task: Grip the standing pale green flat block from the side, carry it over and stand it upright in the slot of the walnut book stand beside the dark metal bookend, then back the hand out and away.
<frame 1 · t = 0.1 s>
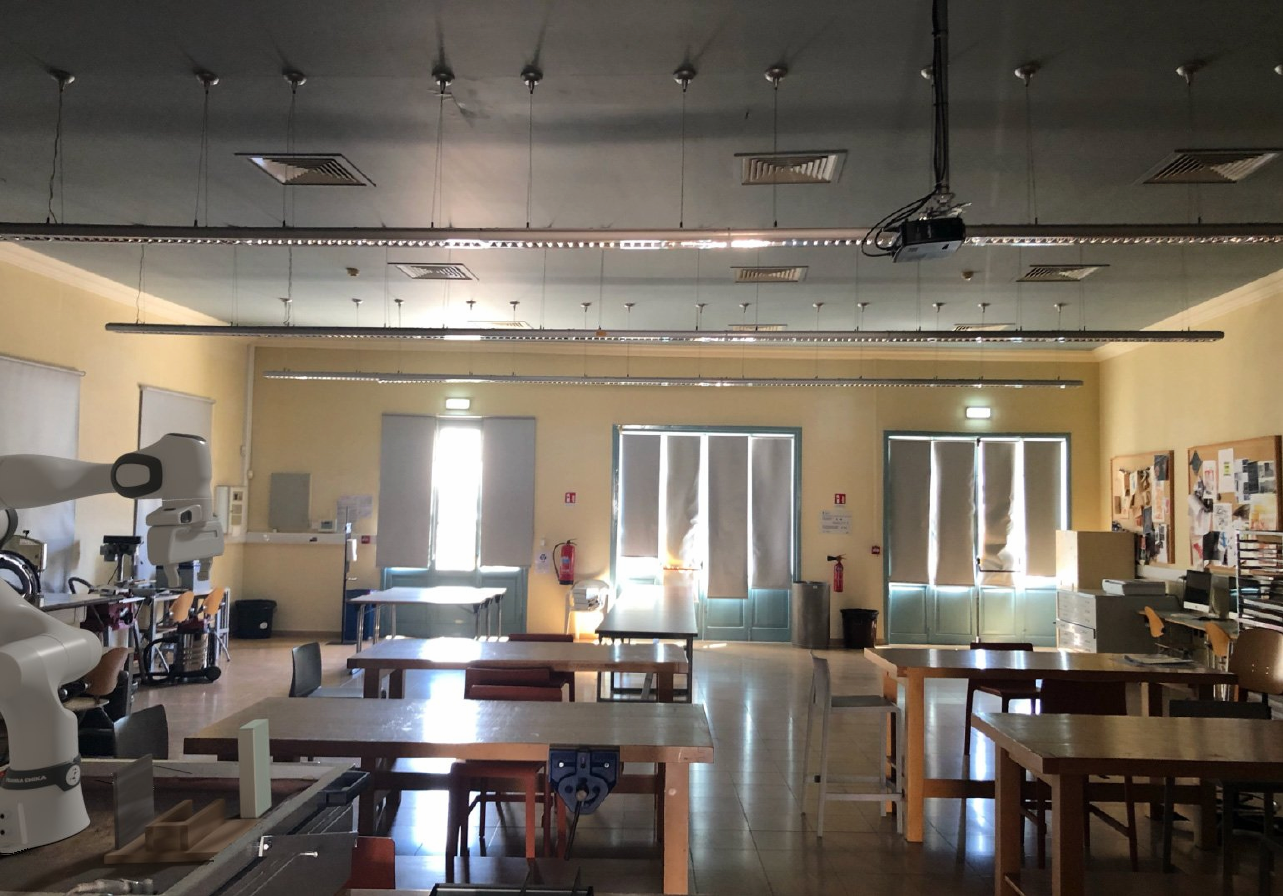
hand: (189, 583, 162), 48 cm above the table, tool pointing down, fingers open, 8 cm apart
book stand: (187, 844, 153), on the table
pale green flat block: (256, 812, 167), on the table
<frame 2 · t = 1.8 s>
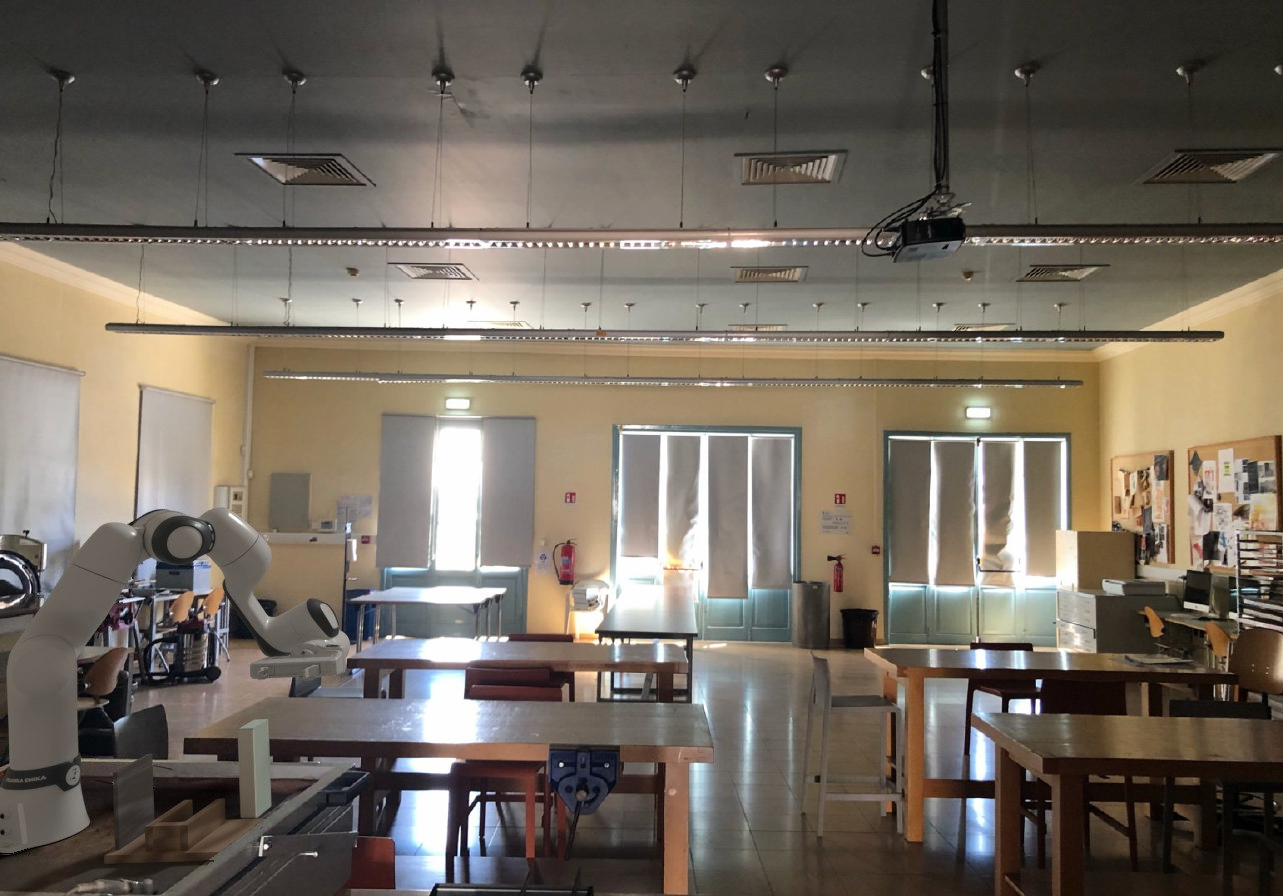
hand: (281, 675, 180), 25 cm above the table, tool horizontal, fingers open, 8 cm apart
nothing on the table moved.
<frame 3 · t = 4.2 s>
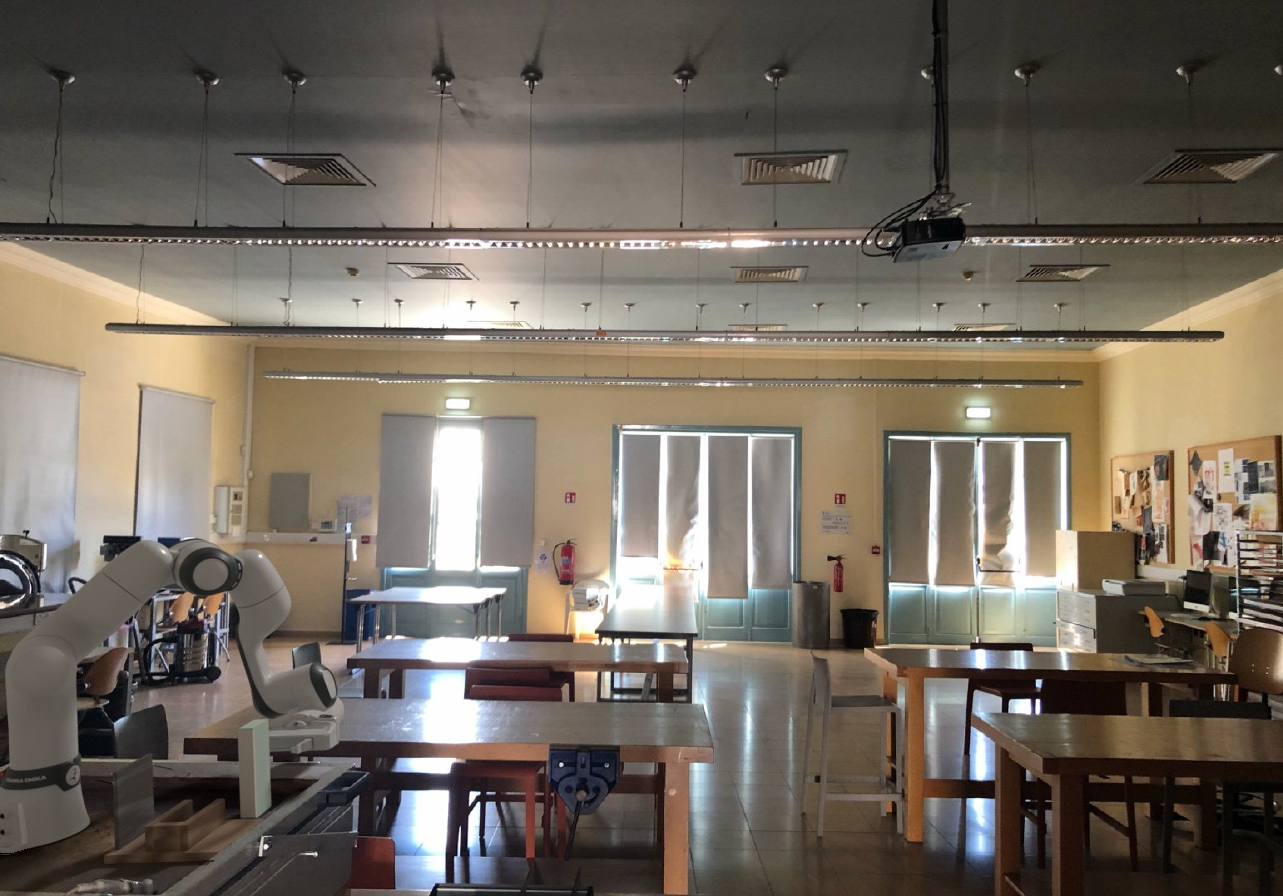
hand: (273, 750, 175), 10 cm above the table, tool horizontal, fingers open, 8 cm apart
nothing on the table moved.
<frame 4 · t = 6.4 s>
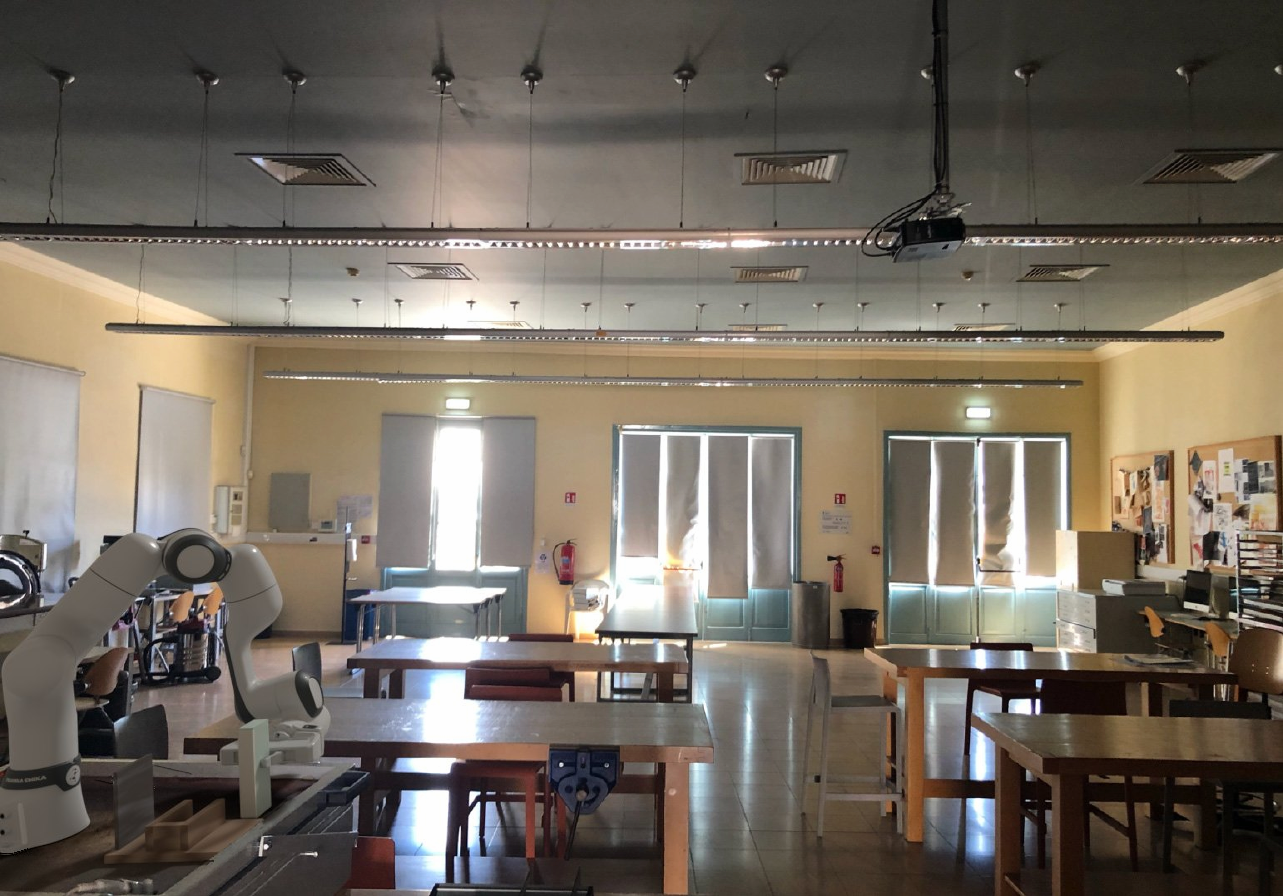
hand: (252, 764, 166), 10 cm above the table, tool horizontal, fingers closed on pale green flat block, 3 cm apart
pale green flat block: (256, 812, 167), on the table, touching gripper
everything else where it was.
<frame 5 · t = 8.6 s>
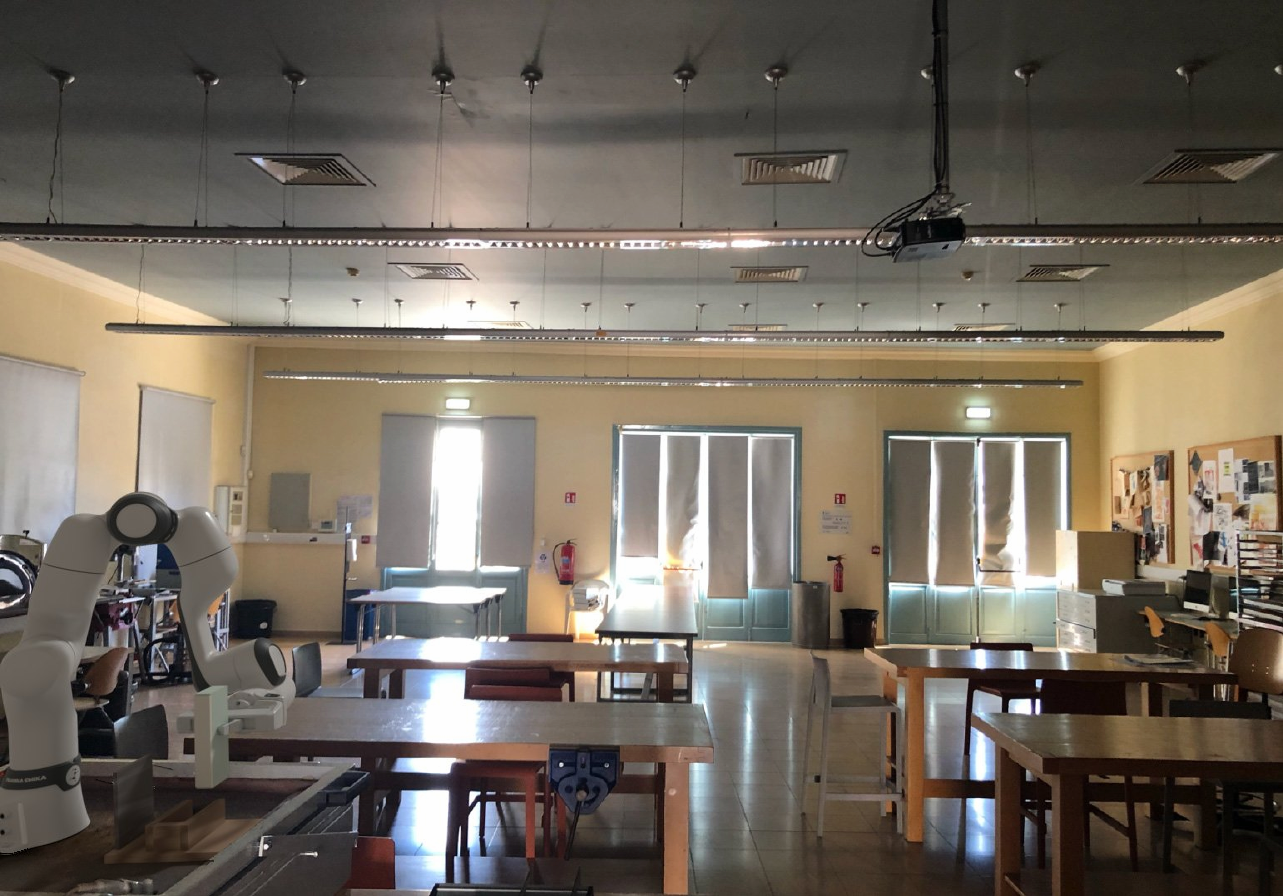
hand: (209, 731, 159), 19 cm above the table, tool horizontal, fingers closed on pale green flat block, 3 cm apart
pale green flat block: (213, 782, 159), point 9 cm above the table, touching gripper
everything else where it was.
when the fingers open (13 cm above the table, at t = 10.9 s): pale green flat block drops 1 cm, resting on book stand.
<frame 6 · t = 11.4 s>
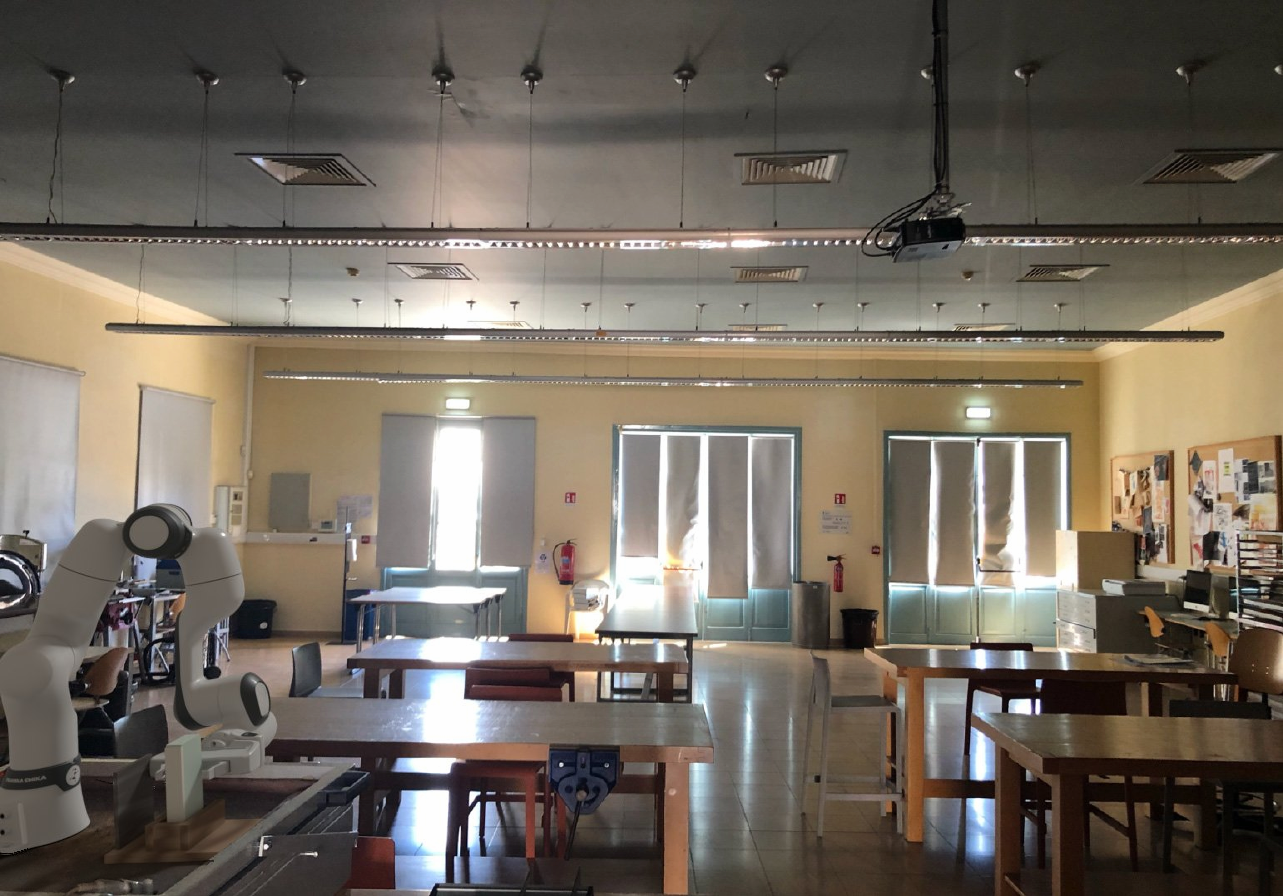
hand: (182, 776, 153), 13 cm above the table, tool horizontal, fingers open, 8 cm apart
pale green flat block: (187, 835, 153), point 2 cm above the table, touching book stand
everything else where it was.
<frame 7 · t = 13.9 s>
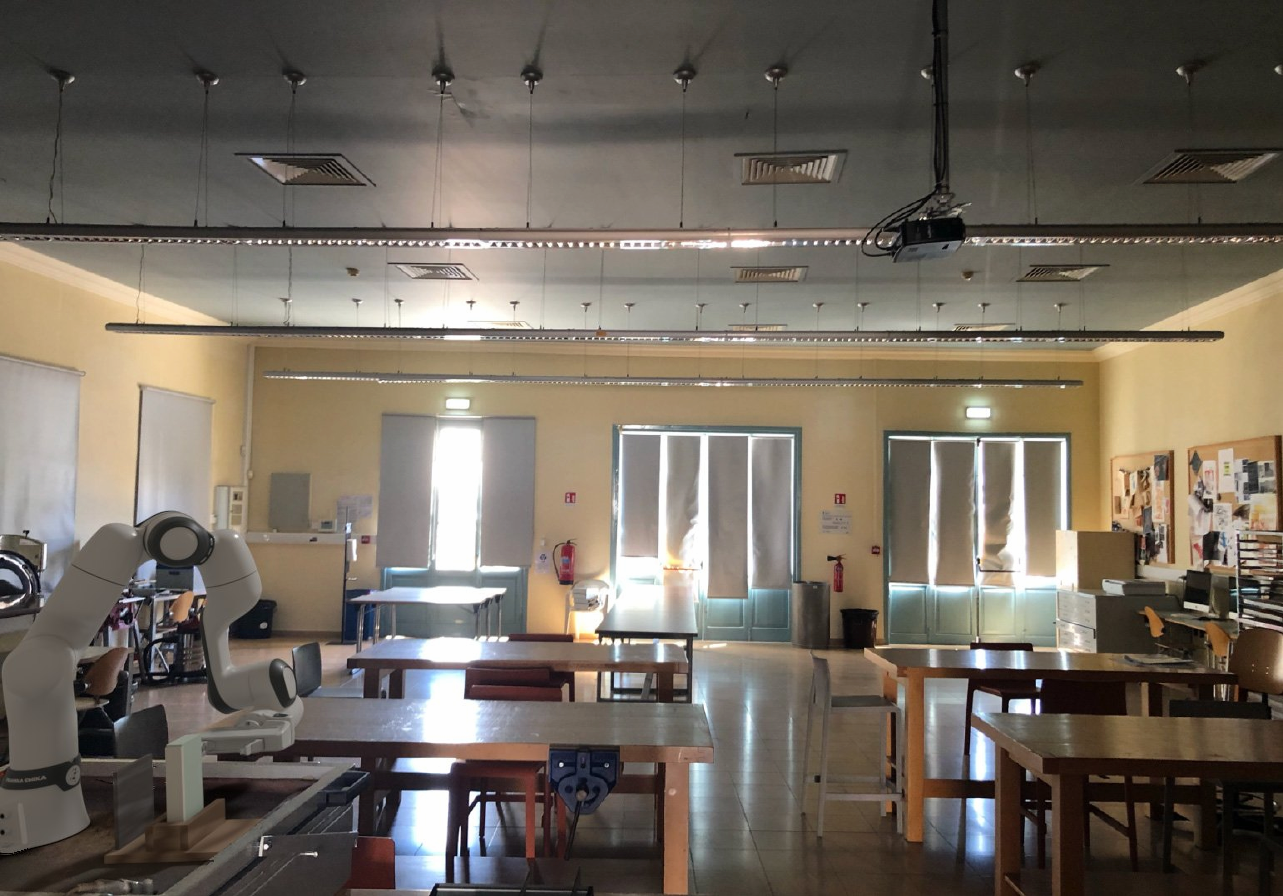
hand: (220, 752, 166), 13 cm above the table, tool horizontal, fingers open, 8 cm apart
nothing on the table moved.
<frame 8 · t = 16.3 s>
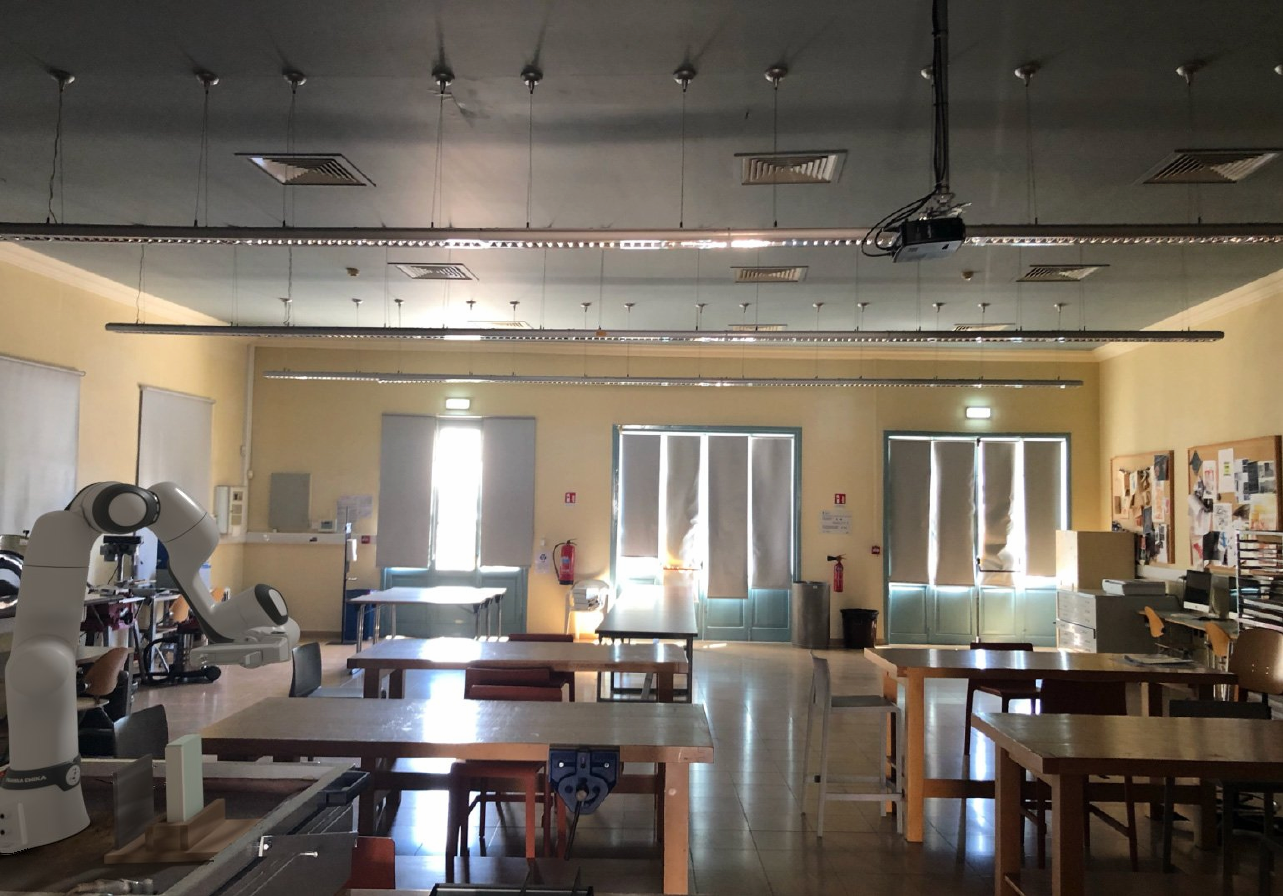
hand: (220, 661, 172), 30 cm above the table, tool horizontal, fingers open, 8 cm apart
nothing on the table moved.
at the end: pale green flat block 0.1 cm off-centre on the book stand, point 1.5 cm above the book stand's base; pale green flat block tilted 0°; the gripper is holding nothing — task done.
